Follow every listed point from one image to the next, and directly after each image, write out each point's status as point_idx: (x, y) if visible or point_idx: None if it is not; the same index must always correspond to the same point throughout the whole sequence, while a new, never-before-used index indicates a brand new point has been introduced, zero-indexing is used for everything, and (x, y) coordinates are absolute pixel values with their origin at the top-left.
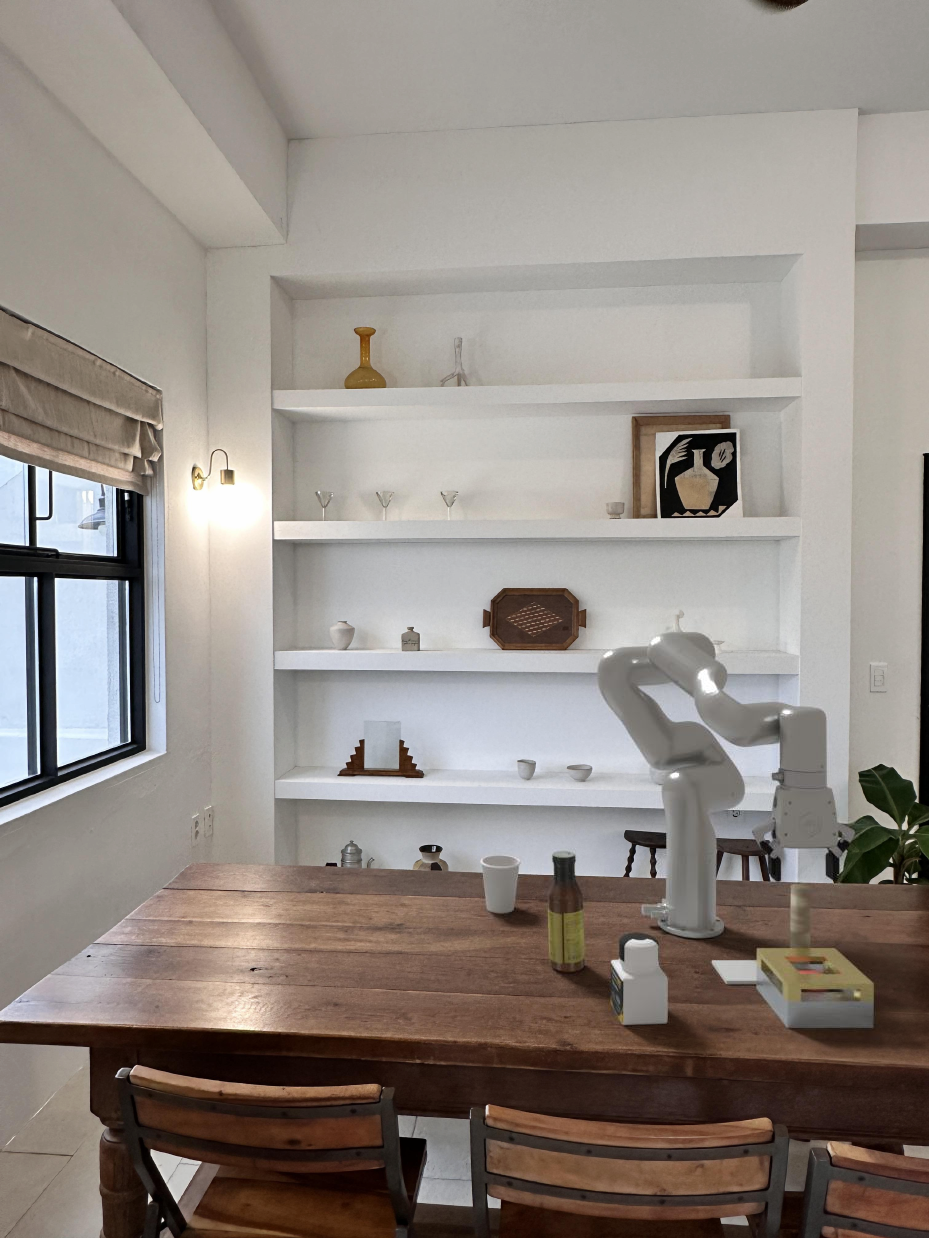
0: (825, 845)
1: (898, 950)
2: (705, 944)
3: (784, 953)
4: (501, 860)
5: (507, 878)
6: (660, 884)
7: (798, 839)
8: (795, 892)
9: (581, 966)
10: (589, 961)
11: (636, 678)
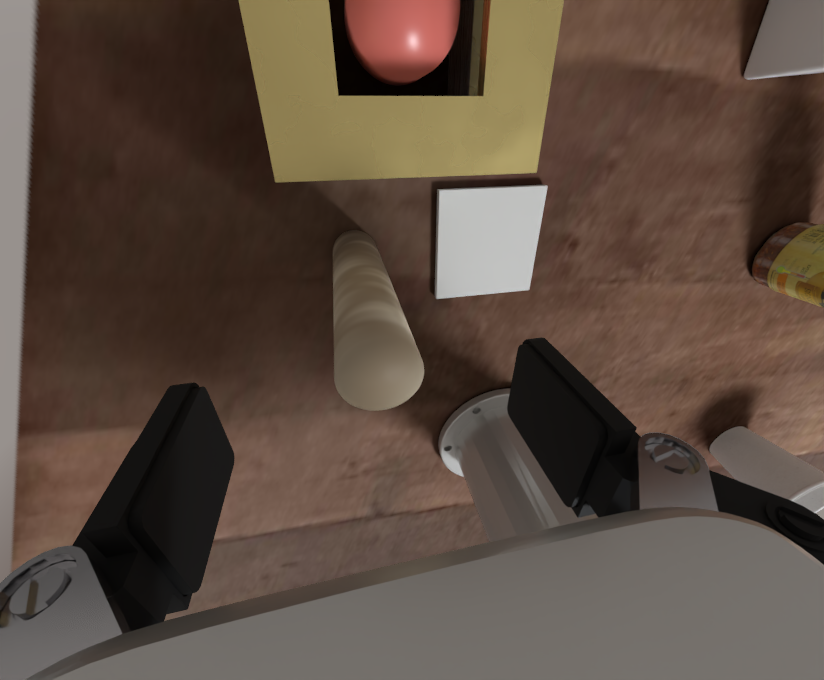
0: (171, 664)
1: (74, 398)
2: (498, 369)
3: (470, 125)
4: None
5: (793, 468)
6: None
7: (674, 673)
8: (412, 341)
9: (778, 235)
10: (729, 277)
11: None
